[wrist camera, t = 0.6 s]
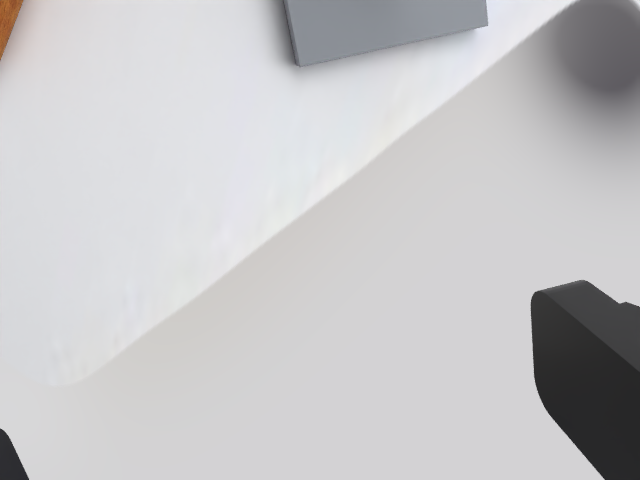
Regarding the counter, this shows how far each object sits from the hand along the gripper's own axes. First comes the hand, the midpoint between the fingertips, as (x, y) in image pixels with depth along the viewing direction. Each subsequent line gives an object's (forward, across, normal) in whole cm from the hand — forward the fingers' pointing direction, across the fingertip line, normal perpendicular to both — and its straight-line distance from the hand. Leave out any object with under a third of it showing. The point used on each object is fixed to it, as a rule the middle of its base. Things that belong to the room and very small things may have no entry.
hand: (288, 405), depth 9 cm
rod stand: (+25, -9, -7) cm, 28 cm away
